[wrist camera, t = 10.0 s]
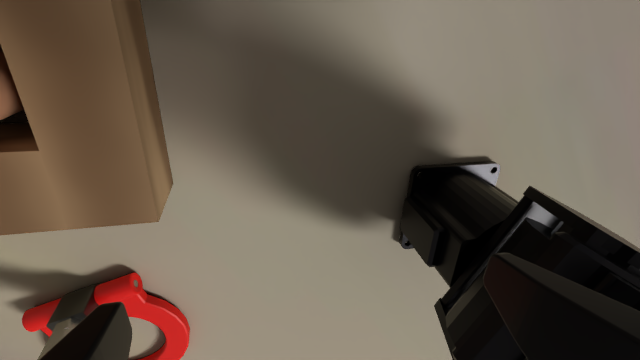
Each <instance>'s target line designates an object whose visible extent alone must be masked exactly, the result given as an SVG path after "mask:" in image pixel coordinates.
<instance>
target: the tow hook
mask: <svg viewBox="0 0 640 360" xmlns="http://www.w3.org/2000/svg"><path fill="white" fill-rule="evenodd" d="M142 288H143V285H142V280H141V278H140V276H139V275H138V274H137V273H131V274H128V275H125V276H122V277H120V278H117V279H114V280H111V281H108V282H105V283H102V284H95V285H92V286H89V287H86V288H83V289H80V290H77V291H75V292H72V293H69V294H66V295H64V296H63V297H62V298H60V299H57V300H54V301H51V302H48V303H45V304H43V305H40V306H37V307H34V308H31V309H28V310H27V311H26V312H25V313H24V315H23V318H22V323H23V326H24V328H25V329H26V330H28V331H30V332H34V331H37V330H40V329H41V330H42V331H43V332H44V333H45V334H46V335H48V336H49V339H48V341H47V343H46V345H45V346H44V348H43V350H42V352H41V354H40V356H39V358H38V360H39V359H40V358H41V357H42V356H44V355H45V354H46V353H47V352H48V351H49V350H50V349H51V348H52V347H53V346H55V345H56V344H57V343H58V342H59V341H60V340H61V339H62V338H63V337H64V336H66V335H67V334H68V333H69V332H70V331H71V330H72V329H73V328H74V327H75V326H77V325H78V324H79V323H80V322H81V321H82V320H83V319H84V318H85V317H86V316H88V315H89V314H90V313H91V312H92V311H93V310H94V309H95V308H96V307H98V306H99V305H101V304H104V303H111V302H122V303H123V304H124V305H125V308H126V311H127V314H128V316H129V317H136V318H141V319H144V320H147V321H150V322H151V323H153V324H155V325H157V326H158V327H159V328H160V329H161V330H162V331H163V333H164V335H165V337H166V342H165V344H164V345H163V346H162V347H161V348H160V349H159V350H158V351H156V352H155V353H153V354H152V355H149V356H147V357H144V358H141V359H137V360H179V359H180V358H181V357H182V356H183V355H184V353H185V351H186V349H187V347H188V343H189V332H190V327H189V325H188V322H187V319H186V317H185V316H184V315H183V314H182V313H181V312H180V310H179V309H178V308H176V307H175V306H173V305H171V304H170V303H168V302H167V301H165V300H162V299H159V298H156V297H153V296H151V295H147V294H146V292H145V291H144V290H143V289H142Z"/></svg>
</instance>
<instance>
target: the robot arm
mask: <svg viewBox="0 0 640 360" xmlns="http://www.w3.org/2000/svg"><path fill="white" fill-rule="evenodd" d="M492 168H493V169H492ZM491 169H492V170H491ZM490 170H491V171H490ZM419 172H421V174H420V175H419V176H417V175H418V173H419ZM499 172H500V165H499V164H497V163H495V162H493V161H489V162H473V163H457V164H441V165H425V166H416V167H415V168H414V169H413V170H412V172H411V176H410V181H409V187H408V193H407V197H406V198H405V201H404V207H403V212H402V218H401V224H400V230H401V234H400V240H399V243H400V244H401V246H402V247H403V248H404V249H411V248H415V250H416V251H417V252H418V254H419V255H420V256H421V258H422V259H423V260H424V262H425V263H426V264H427V265H428V266H429V267H435V268H436V270H437V271H438V272H439V274H440V275H441V276H442V277H443V279H444V280H445V281H446V283H447V284H448V285H449V287H450V289H449V290H448V291H447V293H446V294H445V295H444V296H443V298H442V299H441V298H440V299H439V300H438V301H437V302H436V304H435V305H434V307H435V310H436V312H437V315H438V318H439V321H440V324H441V327H442V330H443V333H444V335H445V338H446V341H447V344H448V347H449V350H450V353H451V356H452V358H453V360H640V249H639V248H638V247H636V246H634V245H633V244H631V243H630V242H628V241H627V240H625V239H624V238H622V237H620V236H619V235H617V234H615V233H614V232H612V231H610V230H608V229H607V228H605V227H603V226H602V225H600V224H598V223H596V222H595V221H593V220H591V219H590V218H588V217H586V216H584V215H583V214H581V213H579V212H577V211H576V210H574V209H572V208H570V207H568V206H566V205H564V204H563V203H561V202H559V201H557V200H555V199H553V198H551V197H550V196H548V195H546V194H544V193H542V192H540V191H539V190H537V189H535V188H533V187H531V186H529V187H528V188H527V190H526V191H525V192H524V193H523V194H524V196H523V198H522V199H521V200H520V201H519V202H518V201H516V200H515V199H513V198H512V197H511V196H509V195H508V194H506V193H505V192H503V191H502V190H500V189H499V188H497V187H496V186H495V185H496V182H497V178H498V175H499ZM406 241H408V242H407V243H405V242H406ZM131 341H132V327H131V324H130V321H129V318H128V314H127V311H126V308H125V305H124V304H123V303H122V302H111V303H104V304H101V305H99V306H98V307H96V308H95V309H94V310H93V311H92V312H91V313H90V314H89V315H88V316H86V317H85V318H84V319H83V320H82V321H81V322H80V323H79V324H78V325H77V326H75V327H74V328H73V329H72V330H71V331H70V332H69V333H68V334H67V335H66V336H64V337H63V338H62V339H61V340H60V341H59V342H58V343H57V344H56V345H55V346H53V347H52V348H51V349H50V350H49V351H48V352H47V353H46V354H45V355H44V356H42V357H41V358H40V359H39V360H128V357H129V352H130V346H131Z"/></svg>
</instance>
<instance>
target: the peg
mask: <svg viewBox="0 0 640 360" xmlns="http://www.w3.org/2000/svg"><path fill="white" fill-rule="evenodd" d="M22 110H24V107H23V105H22V102H21V99H20V96H19V94H18V91H17V88H16V85H15V83H14V80H13V77H12V74H11V72H10V69H9V66H8V63H7V61H6V58H5V55H4V52H3V50H2V47H1V44H0V120H2V119H4V118H6V117H9V116H11V115H13V114H15V113H17V112H20V111H22Z"/></svg>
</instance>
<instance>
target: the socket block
mask: <svg viewBox="0 0 640 360" xmlns="http://www.w3.org/2000/svg"><path fill="white" fill-rule="evenodd" d="M0 44H1V47H2V50H3V52H4V55H5V58H6V61H7V63H8V66H9V69H10V72H11V74H12V77H13V80H14V83H15V85H16V88H17V91H18V94H19V96H20V99H21V102H22V105H23V107H24V110H25V113H26V116H27V118H28V121H29V123H14V124H0V235H9V234H21V233H32V232H44V231H56V230H68V229H80V228H91V227H103V226H115V225H127V224H139V223H151V222H159V219H160V217H161V214H162V211H163V209H164V206H165V203H166V201H167V198H168V196H169V193H170V190H171V188H172V185H173V180H172V175H171V169H170V164H169V158H168V153H167V147H166V142H165V136H164V131H163V125H162V120H161V114H160V109H159V103H158V98H157V92H156V87H155V81H154V76H153V70H152V65H151V59H150V54H149V48H148V43H147V37H146V32H145V26H144V21H143V15H142V10H141V4H140V0H0Z"/></svg>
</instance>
